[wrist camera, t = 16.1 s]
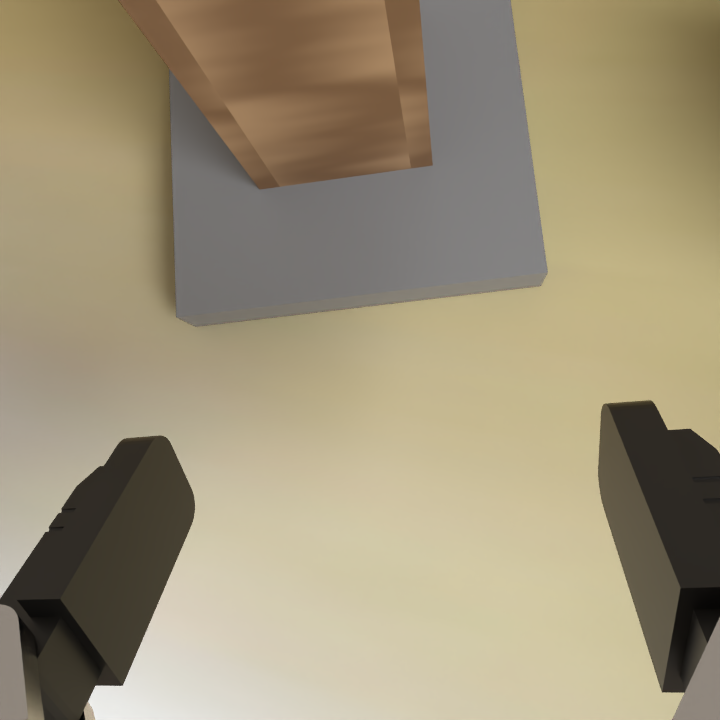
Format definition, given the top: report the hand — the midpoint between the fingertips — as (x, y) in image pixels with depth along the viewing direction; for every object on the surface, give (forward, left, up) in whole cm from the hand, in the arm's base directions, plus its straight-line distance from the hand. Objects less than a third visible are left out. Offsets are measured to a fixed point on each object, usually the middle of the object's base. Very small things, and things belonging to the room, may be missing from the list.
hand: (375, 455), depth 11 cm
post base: (+1, -12, -8) cm, 15 cm away
